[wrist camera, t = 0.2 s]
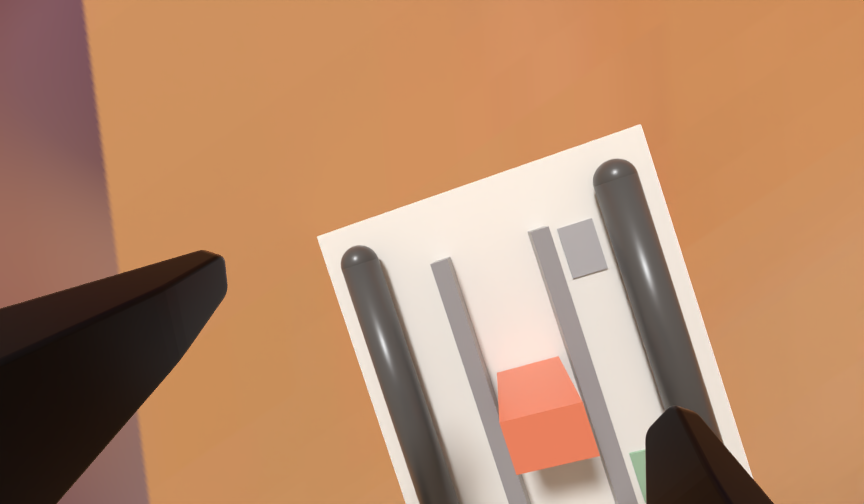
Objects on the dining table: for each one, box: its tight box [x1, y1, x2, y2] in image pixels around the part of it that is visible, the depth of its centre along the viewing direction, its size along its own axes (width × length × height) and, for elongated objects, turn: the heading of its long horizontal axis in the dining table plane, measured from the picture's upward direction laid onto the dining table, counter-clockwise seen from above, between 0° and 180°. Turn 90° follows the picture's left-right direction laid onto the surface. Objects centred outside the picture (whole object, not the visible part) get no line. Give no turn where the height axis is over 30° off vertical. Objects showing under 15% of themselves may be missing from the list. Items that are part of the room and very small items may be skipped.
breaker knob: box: [497, 356, 600, 475], centre depth 17 cm, size 2×3×5 cm, turn 108°
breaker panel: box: [317, 124, 753, 504], centre depth 20 cm, size 20×16×4 cm
